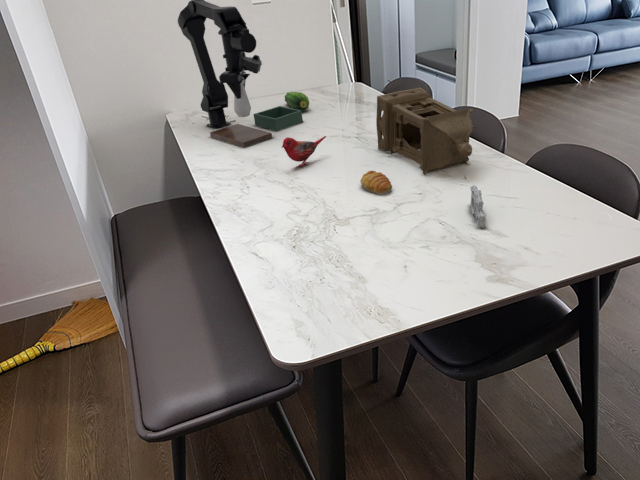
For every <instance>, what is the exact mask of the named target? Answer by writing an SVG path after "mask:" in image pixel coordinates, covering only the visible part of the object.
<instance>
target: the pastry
mask: <svg viewBox="0 0 640 480" xmlns="http://www.w3.org/2000/svg"><path fill="white" fill-rule="evenodd" d="M360 184H361V186H362V188H364V189H365V190H366V191H367V192H368V191H369V192H370V193H373V194H381V195H384V194H386V193H389V192H391V191H392V188H393V185H392V182H391V180H390V179H389V178H388V177H387V176H386V174H384V173H382V172H381V171H380V172H379V171H378V172H377V171H376V170H368V171H366V172H365V173H364V174H363V175H362V176H361V178H360Z"/></svg>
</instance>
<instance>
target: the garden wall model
mask: <svg viewBox="0 0 640 480" xmlns="http://www.w3.org/2000/svg"><path fill="white" fill-rule="evenodd" d="M469 189H470V193H471V194H470V210H471V215H472V216H474V218H475V221H476V225H477V226H478V228H485V225H486V215H485V212H484V209H483V208H484V204H485V203H484V201H483V197H482V195H483V194H482V190H480V189H478V186H477V185H475V184H473V185H472V186H470V187H469Z"/></svg>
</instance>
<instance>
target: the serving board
mask: <svg viewBox="0 0 640 480" xmlns="http://www.w3.org/2000/svg"><path fill="white" fill-rule="evenodd" d="M209 135H210V138H211V139H215V140H217V141H218V140H219V141H220V142H224V143H228V144H230V145H234V146H238V147H239V148H240V147H241V148H244V149H245V148H249V147H251V146H254V145H257V144H260V143H263V142H266V141H268V140H272V139H273V134H272V132H270V131H266V130H262V129H259V128H255V127H251V126H247V125H244V124H240V123H235V124H232V125H228V126H226V127H225V126H224V127H221V128H218V129H215V130H213V131H210V132H209Z"/></svg>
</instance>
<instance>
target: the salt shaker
mask: <svg viewBox="0 0 640 480" xmlns="http://www.w3.org/2000/svg"><path fill="white" fill-rule="evenodd" d="M241 79H244V78H243V77H242V76H241ZM244 82H245V81H244V80H243V82H242V83H241V99H237V98H236V96H235V95H234V94H233V95H234V96H233V100H234V101H233V110H234V112H235V114H236V116H237V117H238V118H246V117H249V116H250V115H251V111H252V106H251V103H250V100H249V97H248V94H247V91H246V87H245V88H244V85H243V84H244ZM245 83H246V82H245Z"/></svg>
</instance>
